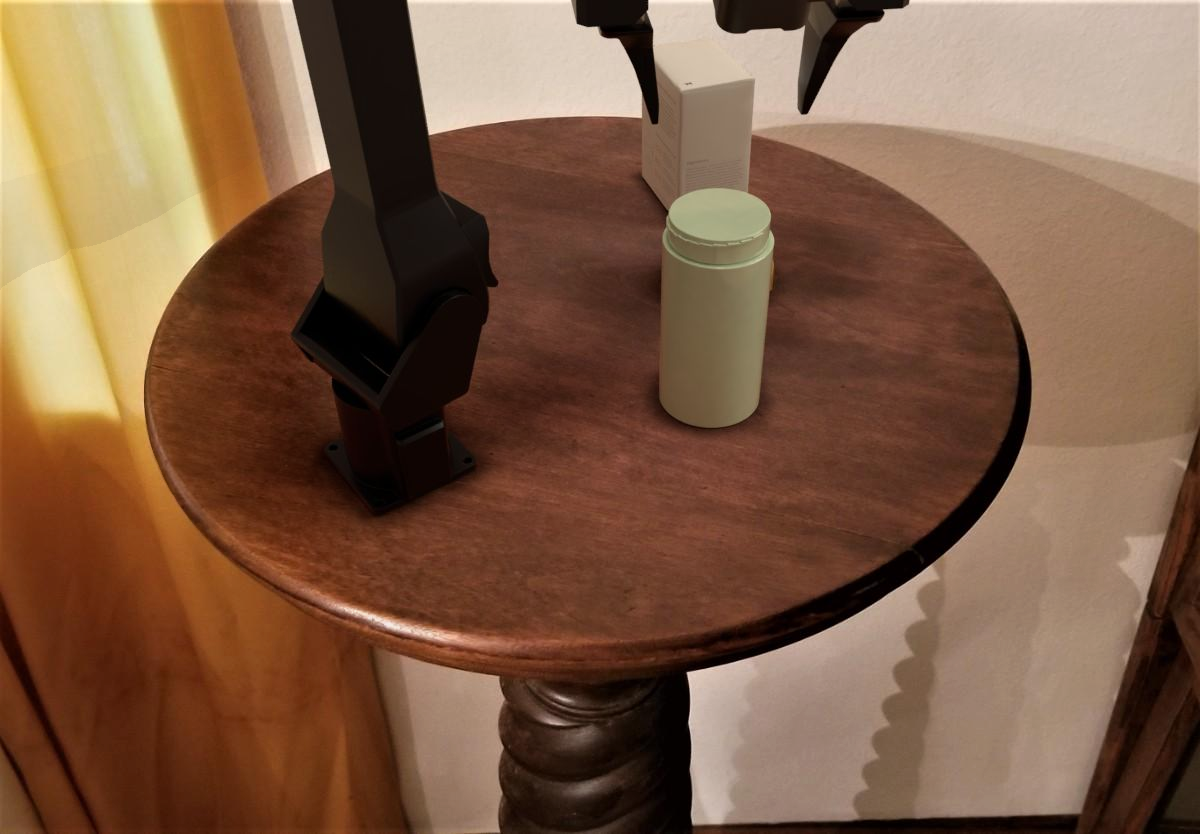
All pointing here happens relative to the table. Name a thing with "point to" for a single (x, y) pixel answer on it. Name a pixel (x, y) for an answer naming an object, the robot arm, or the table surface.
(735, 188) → the small box
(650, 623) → the table surface
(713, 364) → the jar
